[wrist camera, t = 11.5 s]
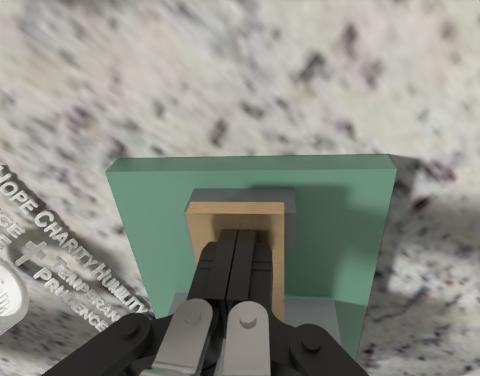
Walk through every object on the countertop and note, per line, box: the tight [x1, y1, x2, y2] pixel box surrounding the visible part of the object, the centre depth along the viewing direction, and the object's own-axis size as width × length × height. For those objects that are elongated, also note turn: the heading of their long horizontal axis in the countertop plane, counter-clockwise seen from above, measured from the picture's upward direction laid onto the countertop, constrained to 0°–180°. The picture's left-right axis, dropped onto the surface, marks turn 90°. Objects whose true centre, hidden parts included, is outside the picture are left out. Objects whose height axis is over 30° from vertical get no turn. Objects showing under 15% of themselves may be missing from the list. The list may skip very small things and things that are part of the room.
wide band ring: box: [0, 165, 148, 335], centre depth 20 cm, size 18×10×6 cm
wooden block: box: [186, 202, 284, 323], centre depth 15 cm, size 8×4×1 cm, turn 4°
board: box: [105, 154, 397, 376], centre depth 19 cm, size 24×14×8 cm, turn 4°
